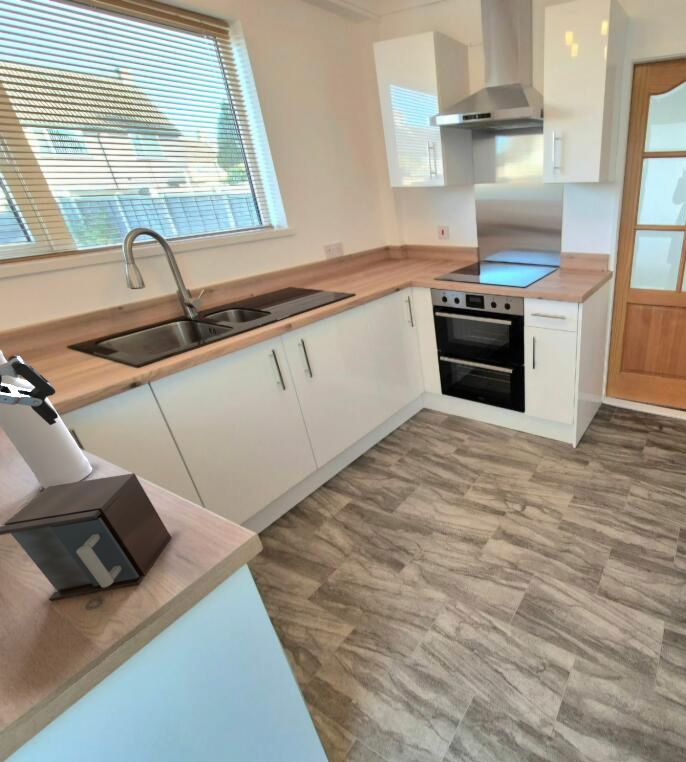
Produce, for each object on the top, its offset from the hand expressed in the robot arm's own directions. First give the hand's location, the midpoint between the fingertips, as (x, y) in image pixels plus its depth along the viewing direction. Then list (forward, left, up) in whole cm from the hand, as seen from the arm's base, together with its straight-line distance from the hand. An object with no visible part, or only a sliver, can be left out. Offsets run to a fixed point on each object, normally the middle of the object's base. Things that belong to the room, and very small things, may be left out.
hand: (13, 439), depth 59 cm
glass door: (+6, -8, -23) cm, 25 cm away
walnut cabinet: (+3, -1, -24) cm, 24 cm away
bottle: (-23, +28, -24) cm, 43 cm away
